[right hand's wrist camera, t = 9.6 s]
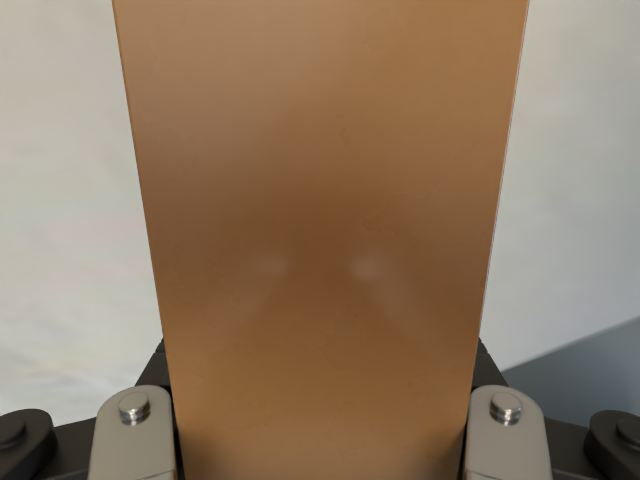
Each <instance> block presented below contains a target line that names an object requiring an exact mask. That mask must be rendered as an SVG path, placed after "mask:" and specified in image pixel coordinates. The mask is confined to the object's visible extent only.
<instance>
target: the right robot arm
mask: <svg viewBox="0 0 640 480" xmlns="http://www.w3.org/2000/svg"><path fill="white" fill-rule="evenodd" d="M0 480H185V475H184V469H183V462H182V455H181V449H180V442H179V436H178V429H177V423H176V416H175V410H174V403H173V397H172V390H171V384H170V377H169V371H168V364H167V358H166V351H165V345H164V338H162V340H161V343H159V345H158V347H157V349H156V350H155V353H154V354H153V355H152V357H151V359H150V360H149V362H148V364H147V366H146V367H145V369H144V371H143V372H142V374H141V376H140V377H139V379H138V381H137V383H136V384H135V386H134V387H131V388H128V389H125V390H122V391H120V392H118V393H117V394H115V395H113V396H112V397H110V398H109V399H108V400H107V401H106V402H105V403H104V404H103V405H102V406H101V408H100V409H99V411H98V414H97V417H94V418H91V419H87V420H83V421H79V422H74V423H70V424H66V425H61V426H57V427H54V426H53V422H52V419H51V416H50V415H49V414H48V413H47V412H45V411H43V410H40V409H23V410H18V411H14V412H11V413H7V414H5V415H2V416H0ZM457 480H640V417H638V416H636V415H633V414H630V413H627V412H622V411H616V410H604V411H600V412H597V413H595V414H594V415H593V416H592V417H591V419H590V422H589V426H588V428H587V427H583V426H579V425H574V424H570V423H566V422H561V421H557V420H553V419H550V418H547V417H544V416H543V414H542V411H541V409H540V408H539V406H538V405H537V404H536V403H535V402H534V401H533V400H532V399H531V398H530V397H528V396H527V395H525V394H523V393H522V392H520V391H518V390H515V389H512V388H509V386H508V385H507V383H506V381H505V380H504V378H503V376H502V375H501V373H500V371H499V369H498V368H497V366H496V364H495V363H494V361H493V359H492V358H491V356H490V354H488V353H487V349H486V348H485V346H484V344H483V343H481V339H480V338H479V339H478V346H477V352H476V359H475V366H474V372H473V379H472V386H471V392H470V399H469V405H468V412H467V419H466V425H465V432H464V439H463V445H462V452H461V459H460V465H459V472H458V479H457Z"/></svg>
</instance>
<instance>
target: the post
mask: <svg viewBox="0 0 640 480" xmlns="http://www.w3.org/2000/svg"><path fill="white" fill-rule="evenodd" d="M112 5H113V12H114V18H115V25H116V32H117V38H118V45H119V51H120V58H121V64H122V71H123V77H124V84H125V90H126V97H127V103H128V110H129V116H130V123H131V129H132V136H133V142H134V149H135V155H136V162H137V169H138V175H139V182H140V188H141V195H142V201H143V208H144V214H145V221H146V227H147V234H148V240H149V247H150V253H151V260H152V266H153V273H154V279H155V286H156V292H157V299H158V305H159V312H160V319H161V325H162V332H163V338H164V345H165V351H166V358H167V364H168V371H169V377H170V384H171V390H172V397H173V403H174V410H175V416H176V423H177V429H178V436H179V442H180V449H181V455H182V462H183V469H184V475H185V480H457V479H458V472H459V465H460V459H461V452H462V445H463V439H464V432H465V425H466V419H467V412H468V405H469V399H470V392H471V386H472V379H473V372H474V366H475V359H476V352H477V346H478V339H479V332H480V326H481V319H482V312H483V306H484V299H485V293H486V286H487V279H488V273H489V266H490V259H491V253H492V246H493V239H494V233H495V226H496V219H497V213H498V206H499V199H500V193H501V186H502V180H503V173H504V166H505V160H506V153H507V146H508V140H509V133H510V126H511V120H512V113H513V106H514V100H515V93H516V87H517V80H518V73H519V67H520V60H521V53H522V47H523V40H524V33H525V27H526V20H527V13H528V7H529V0H112Z"/></svg>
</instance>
